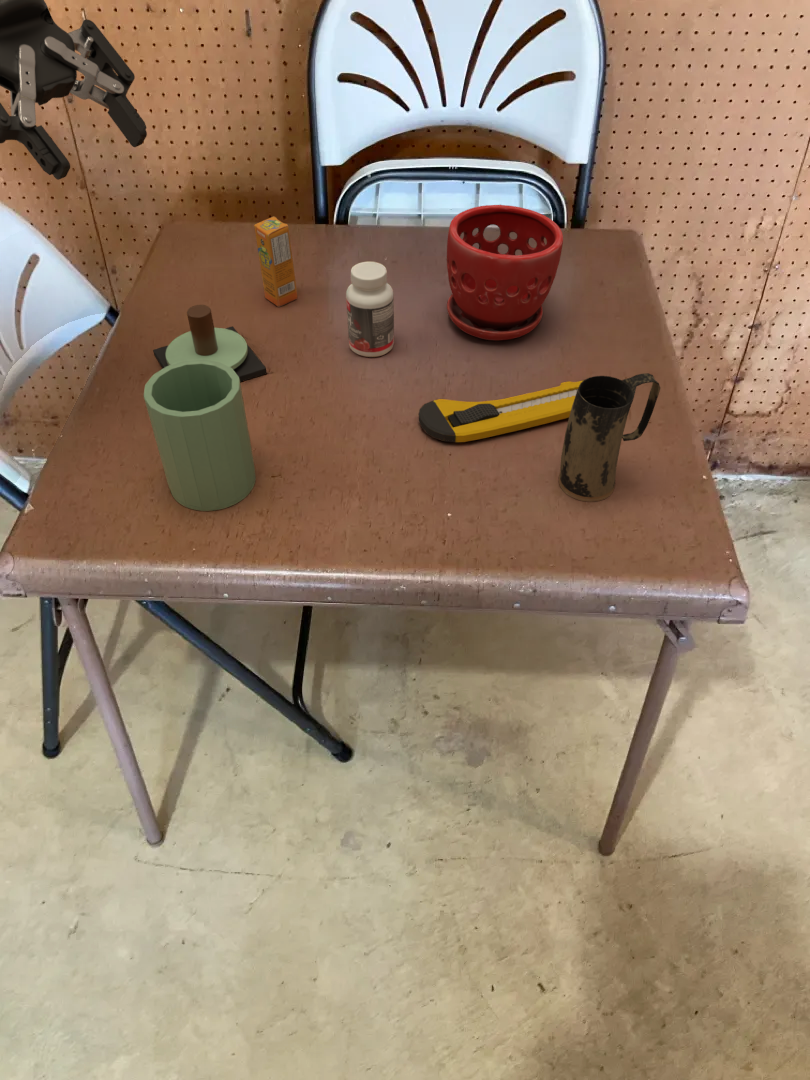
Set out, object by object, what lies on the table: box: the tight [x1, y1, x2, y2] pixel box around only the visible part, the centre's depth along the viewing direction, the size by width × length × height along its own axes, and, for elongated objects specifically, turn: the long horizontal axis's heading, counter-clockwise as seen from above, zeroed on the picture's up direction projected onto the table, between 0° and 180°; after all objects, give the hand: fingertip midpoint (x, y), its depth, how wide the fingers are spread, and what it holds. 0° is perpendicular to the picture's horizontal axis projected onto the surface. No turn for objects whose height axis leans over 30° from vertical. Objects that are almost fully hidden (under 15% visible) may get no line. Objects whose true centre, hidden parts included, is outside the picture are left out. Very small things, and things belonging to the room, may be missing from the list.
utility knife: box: [418, 379, 585, 443], centre depth 91 cm, size 7×22×2 cm, turn 111°
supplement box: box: [253, 216, 299, 308], centre depth 103 cm, size 3×3×10 cm
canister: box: [143, 359, 257, 512], centre depth 79 cm, size 8×8×12 cm
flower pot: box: [446, 204, 564, 341], centre depth 99 cm, size 13×13×12 cm
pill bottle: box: [345, 261, 395, 358], centre depth 96 cm, size 5×5×10 cm
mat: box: [152, 326, 268, 383], centre depth 97 cm, size 10×10×1 cm
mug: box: [558, 372, 661, 503], centre depth 79 cm, size 8×6×12 cm
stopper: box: [166, 304, 248, 370], centre depth 94 cm, size 9×9×6 cm
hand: (104, 156), depth 73 cm, fingers open, 8 cm apart
